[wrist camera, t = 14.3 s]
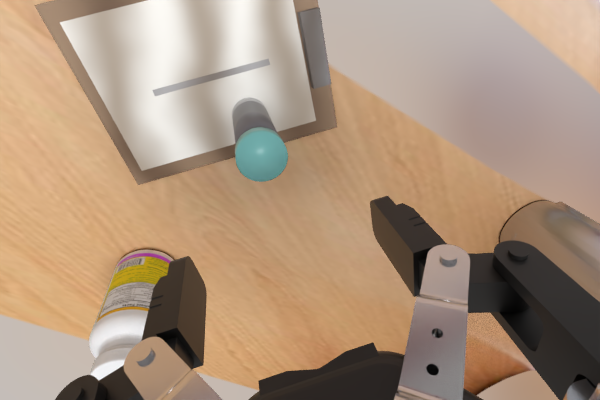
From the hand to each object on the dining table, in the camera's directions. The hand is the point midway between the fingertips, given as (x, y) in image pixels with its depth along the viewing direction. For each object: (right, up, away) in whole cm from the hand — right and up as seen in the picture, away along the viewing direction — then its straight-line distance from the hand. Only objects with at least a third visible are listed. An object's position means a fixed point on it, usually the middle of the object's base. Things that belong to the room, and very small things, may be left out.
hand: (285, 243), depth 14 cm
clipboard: (-7, +13, +14) cm, 20 cm away
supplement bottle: (-17, -6, +23) cm, 29 cm away
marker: (-4, +10, +16) cm, 19 cm away
